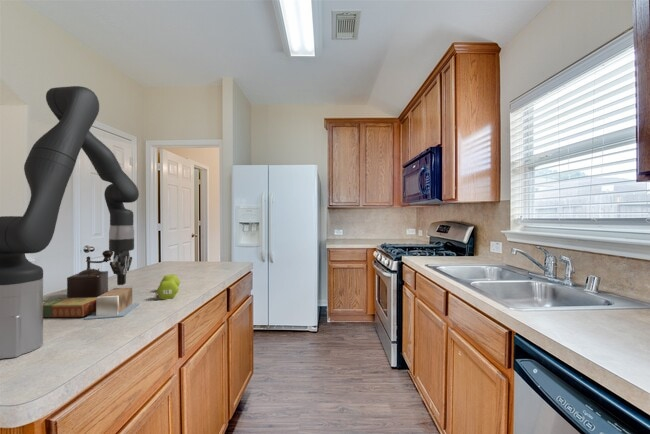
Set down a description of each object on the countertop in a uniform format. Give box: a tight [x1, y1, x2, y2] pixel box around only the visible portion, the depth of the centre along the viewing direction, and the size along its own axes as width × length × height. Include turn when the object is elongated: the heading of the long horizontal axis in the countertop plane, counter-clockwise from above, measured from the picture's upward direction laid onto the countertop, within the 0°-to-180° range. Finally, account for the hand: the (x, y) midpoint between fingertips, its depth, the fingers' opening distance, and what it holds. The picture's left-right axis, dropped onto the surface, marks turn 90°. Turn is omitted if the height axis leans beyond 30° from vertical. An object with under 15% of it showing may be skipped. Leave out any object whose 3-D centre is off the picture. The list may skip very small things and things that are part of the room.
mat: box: [83, 303, 139, 321], centre depth 96 cm, size 13×11×1 cm
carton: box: [43, 297, 97, 318], centre depth 94 cm, size 8×16×4 cm, turn 88°
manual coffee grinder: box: [66, 249, 114, 298], centre depth 116 cm, size 16×11×18 cm
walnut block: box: [96, 286, 133, 316], centre depth 98 cm, size 6×6×12 cm
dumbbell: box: [156, 274, 181, 300], centre depth 117 cm, size 16×8×7 cm, turn 25°
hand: (121, 284), depth 102 cm, fingers closed
